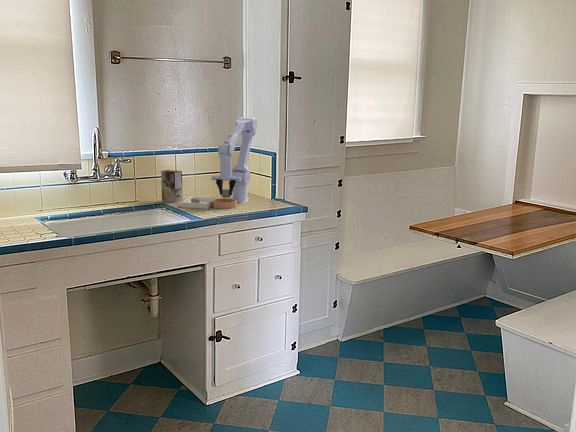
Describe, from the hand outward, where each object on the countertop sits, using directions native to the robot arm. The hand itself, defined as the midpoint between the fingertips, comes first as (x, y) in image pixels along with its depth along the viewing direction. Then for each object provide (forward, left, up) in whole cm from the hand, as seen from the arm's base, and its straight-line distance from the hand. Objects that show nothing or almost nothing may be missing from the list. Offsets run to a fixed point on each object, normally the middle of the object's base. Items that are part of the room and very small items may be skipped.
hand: (226, 194), depth 305 cm
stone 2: (0, 0, -1) cm, 1 cm away
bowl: (+2, 0, -6) cm, 6 cm away
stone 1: (+6, -14, -5) cm, 16 cm away
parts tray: (+1, -13, -6) cm, 15 cm away
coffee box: (-5, -30, -6) cm, 31 cm away
